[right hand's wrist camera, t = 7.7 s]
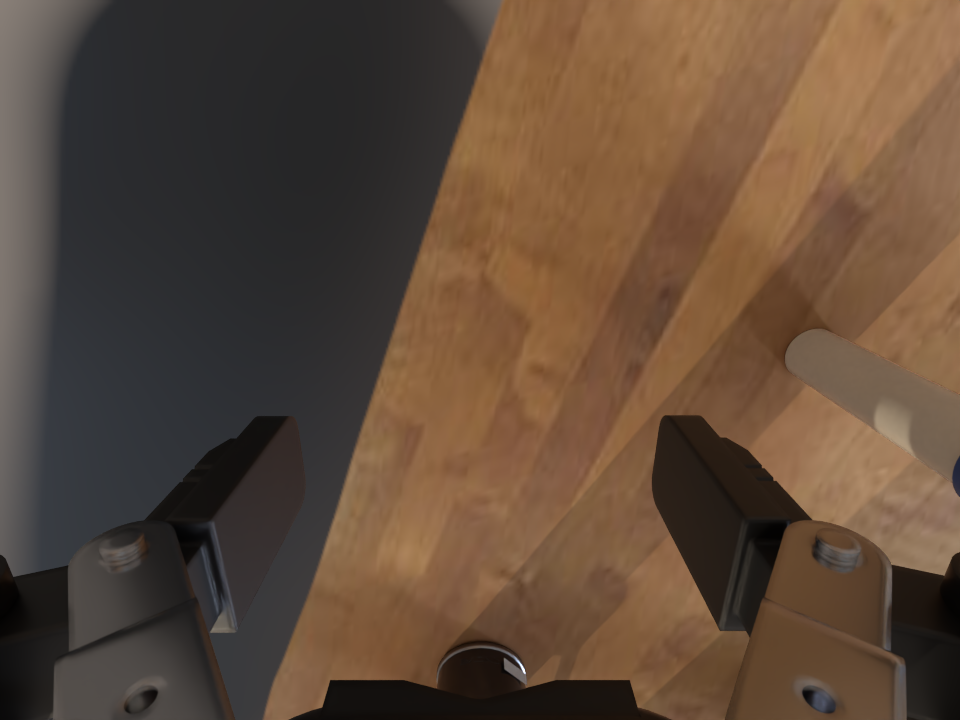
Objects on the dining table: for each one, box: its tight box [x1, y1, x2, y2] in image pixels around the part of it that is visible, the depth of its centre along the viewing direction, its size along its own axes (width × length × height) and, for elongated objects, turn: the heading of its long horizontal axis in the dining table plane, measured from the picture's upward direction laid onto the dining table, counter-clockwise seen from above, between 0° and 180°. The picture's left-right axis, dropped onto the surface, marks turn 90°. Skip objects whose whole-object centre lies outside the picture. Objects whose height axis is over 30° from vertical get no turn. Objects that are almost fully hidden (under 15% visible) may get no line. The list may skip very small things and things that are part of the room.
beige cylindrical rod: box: [785, 329, 960, 484], centre depth 34 cm, size 4×4×18 cm
